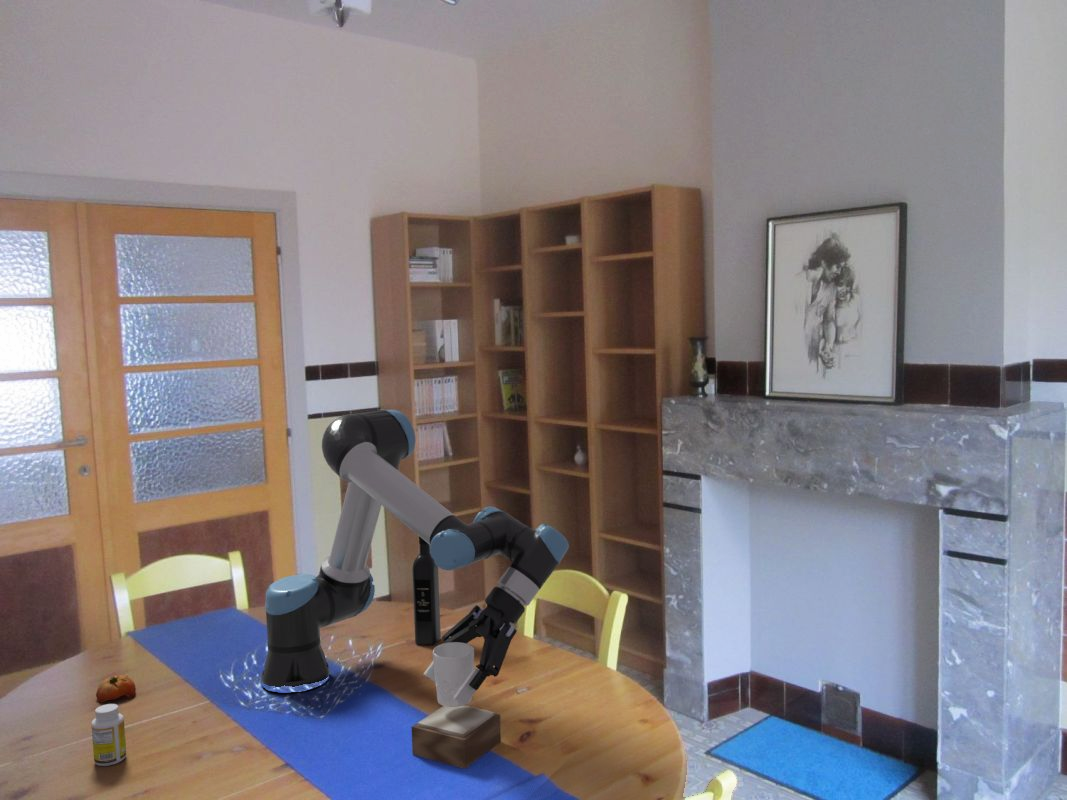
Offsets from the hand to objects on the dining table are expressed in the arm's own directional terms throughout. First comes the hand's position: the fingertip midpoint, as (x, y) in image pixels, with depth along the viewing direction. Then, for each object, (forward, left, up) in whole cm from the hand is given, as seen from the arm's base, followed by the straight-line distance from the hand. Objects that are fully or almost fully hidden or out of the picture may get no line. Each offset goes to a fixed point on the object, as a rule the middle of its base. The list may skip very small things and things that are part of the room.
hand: (443, 689), depth 168 cm
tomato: (-81, -13, -12) cm, 83 cm away
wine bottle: (-39, +46, -12) cm, 62 cm away
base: (+1, +2, -12) cm, 12 cm away
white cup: (-1, +4, -4) cm, 6 cm away
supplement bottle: (-55, -32, -12) cm, 65 cm away
